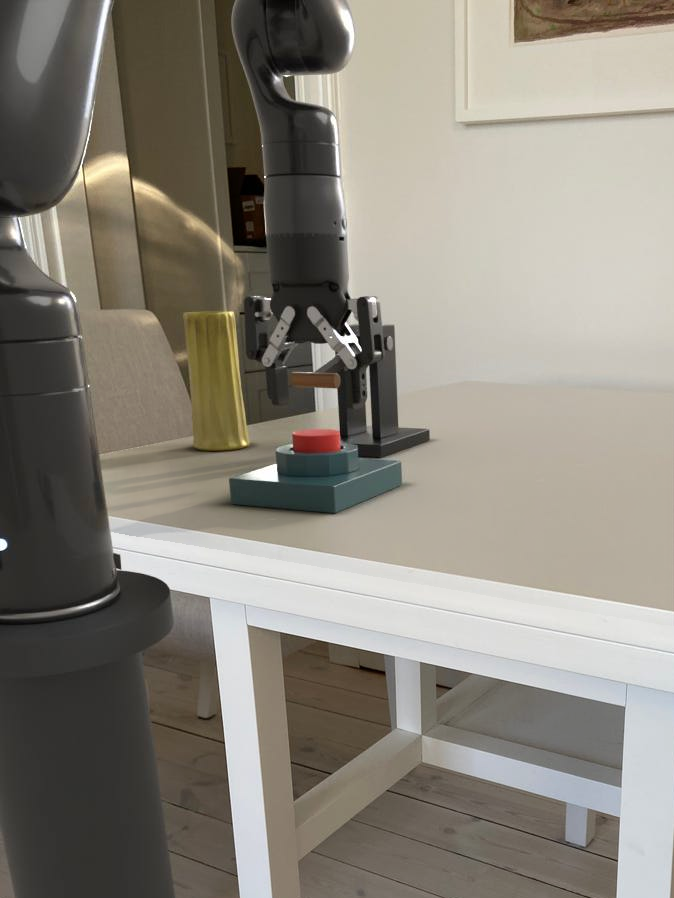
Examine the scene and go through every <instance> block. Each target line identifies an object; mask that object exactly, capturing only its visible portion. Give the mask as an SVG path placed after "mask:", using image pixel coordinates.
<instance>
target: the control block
mask: <svg viewBox="0 0 674 898" xmlns="http://www.w3.org/2000/svg"><path fill="white" fill-rule="evenodd" d="M340 446H341V450H338V451H331V452H321V453H303V452H294V451H293V443H290V444H289V443H288V444H285V445H282V446H279V447H277V448H276V449H275V463H273V464H271V465H268V466H265V467H261V468H258V469H255V470H252V471H249V472H245V473H242V474H238V475H235V476H233V477H229V478H228V482H229V484H228V485H229V495H230V503H231V505H236V506H246V507H247V506H249V507H259V508H260V507H261V508H270V509H271V508H272V509H280V510H281V509H283V510H294V511H306V512H316V513H327V514H337V513H340V512H342V511H344V510H346V509H348V508H351V507H353V506H355V505H357V504H360V503H363V502H365V501H367V500H369V499H372V498H375V497H377V496H379V495H381V494H384V493H386V492H389V491H392V490H393V489H395V488H396V489H397V488H398V487H401V486H403V474H402V473H403V472H402V471H403V469H402V468H403V467H402V461H401V460H395V459H394V460H393V459H381V458H380V459H378V458H377V459H376V458H365V457H364V458H363V457H359V456H358V447H357V445H354V444H350V443H344V442H340Z"/></svg>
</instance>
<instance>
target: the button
mask: <svg viewBox="0 0 674 898" xmlns="http://www.w3.org/2000/svg"><path fill="white" fill-rule="evenodd" d="M339 431H340V430H337V429H331V428H310V429H302V430H297V431H294V432H292V433H291V437H292V444H293V451H294V452H303V453H321V452H331V451H338V450H341V446H340V432H339Z"/></svg>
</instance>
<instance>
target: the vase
mask: <svg viewBox="0 0 674 898" xmlns="http://www.w3.org/2000/svg"><path fill="white" fill-rule="evenodd" d="M182 315H183V324H184V325H183V327H184V335H185V345H186V354H187V356H186V357H187V366H188V367H187V368H188V378H189V390H190V391H189V393H190V403H191V420H192V431H193V442H192V445H193V448H194V449H195V450H199V451H207V452H223V451H233V450H240V449H244V448H247V447H249V446H250V445H251V440H250V438H249V437H250V436H249V431H248V425H247V419H246V410H245V403H244V398H243V397H244V396H243V390H242V380H241V379H242V378H241V372H240V357H239V348H238V337H237V325H236V316H235V312H234V311H229V310H227V311H225V310H222V311H221V310H219V311H212V310H211V311H188V312H187V311H185V312H183V314H182Z"/></svg>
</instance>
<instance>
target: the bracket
mask: <svg viewBox="0 0 674 898" xmlns="http://www.w3.org/2000/svg"><path fill="white" fill-rule="evenodd" d="M348 326H349V327H350V329H351V330H352V332H355V331H356V330H358V329H359V324H358V323H352V324H348ZM382 330H383V341H384V352H385V357H384V359H383V360H382V361H378V362H375V363H373V364H370V365H369V366H368V372H369V373H368V374H369V393H370V395H369V396H370V417H371V425H367V424H368V423H367V408H366V407H367V406H366V402H363V407H362V408H359V409H348V408H347V406H346V389H345V370H348V367H347V366H345V367H344V368H342V369H341V370H340V371H338V372H337V374H339V376H340V386H339V387H338V388H336V390H337V391H336V392H337V407H338V408H337V409H338V420H339V421H338V426H339V430H338V431H339V432H340V442H344V443H350V444H354V445H357V447H358V457H361V458H363V457H364V458H377V459H378V458H380V459H381V458H384V457H387V456H389V455H392V454H395V453H398V452H401V451H403V450H406V449H410V448H412V447H415V446H418V445H420V444H423V443H426V442H429V441H430V440H431V438H430V437H431V435H430V428H419V427H418V428H417V427H399V408H398V407H399V405H398V382H397V380H398V378H397V357H396V353H397V352H396V332H395V331H396V330H395V324H382ZM337 355H338V353H337V352H336V351H334V357H335V356H337Z"/></svg>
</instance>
